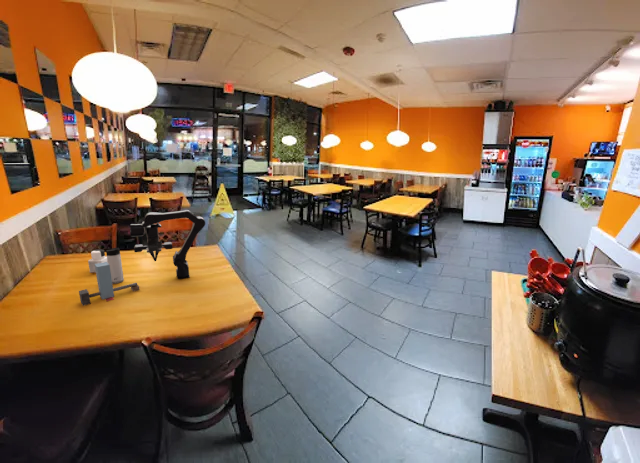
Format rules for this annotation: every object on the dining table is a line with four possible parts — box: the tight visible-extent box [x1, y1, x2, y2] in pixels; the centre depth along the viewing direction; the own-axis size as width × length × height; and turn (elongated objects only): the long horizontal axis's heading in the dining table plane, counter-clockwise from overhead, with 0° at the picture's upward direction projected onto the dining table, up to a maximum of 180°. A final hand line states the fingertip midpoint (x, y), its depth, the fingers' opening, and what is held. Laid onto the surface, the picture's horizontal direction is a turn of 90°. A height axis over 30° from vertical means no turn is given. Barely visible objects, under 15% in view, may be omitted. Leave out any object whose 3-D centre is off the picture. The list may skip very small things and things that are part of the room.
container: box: [87, 248, 108, 273], centre depth 177 cm, size 8×8×13 cm
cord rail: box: [78, 282, 140, 307], centre depth 148 cm, size 24×10×6 cm, turn 138°
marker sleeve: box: [95, 262, 115, 300], centre depth 145 cm, size 5×5×18 cm
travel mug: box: [105, 247, 125, 285], centre depth 162 cm, size 6×7×20 cm
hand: (155, 261), depth 166 cm, fingers closed
